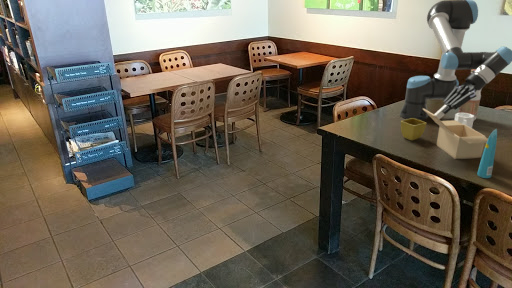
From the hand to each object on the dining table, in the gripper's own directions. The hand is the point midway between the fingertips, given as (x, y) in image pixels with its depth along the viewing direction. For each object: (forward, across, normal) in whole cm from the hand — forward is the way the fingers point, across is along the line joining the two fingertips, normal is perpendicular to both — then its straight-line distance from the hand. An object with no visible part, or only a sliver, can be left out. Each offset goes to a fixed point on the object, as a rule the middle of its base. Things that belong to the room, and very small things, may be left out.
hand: (436, 117), depth 167 cm
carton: (+3, 0, +22) cm, 22 cm away
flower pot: (+13, -18, +12) cm, 25 cm away
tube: (+6, +24, +19) cm, 31 cm away
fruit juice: (-19, -44, +44) cm, 65 cm away
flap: (0, 0, +10) cm, 10 cm away
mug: (-7, -21, +32) cm, 39 cm away
